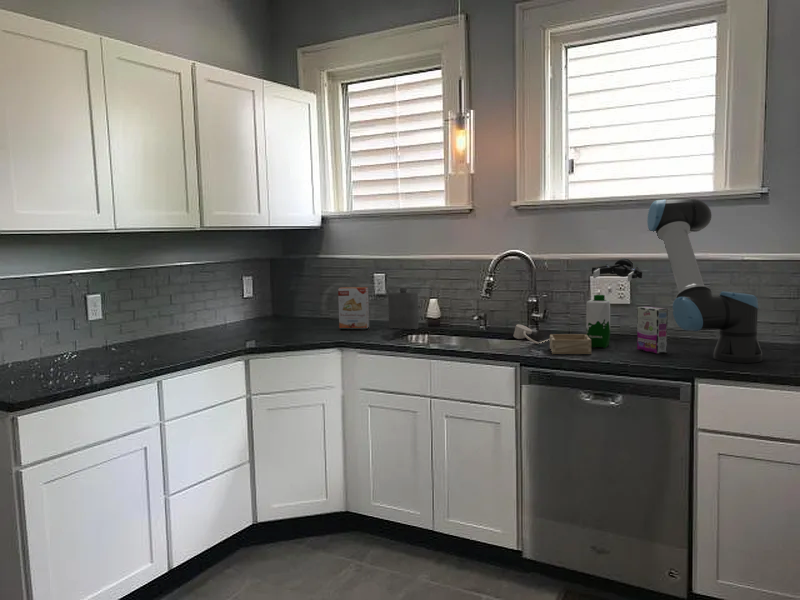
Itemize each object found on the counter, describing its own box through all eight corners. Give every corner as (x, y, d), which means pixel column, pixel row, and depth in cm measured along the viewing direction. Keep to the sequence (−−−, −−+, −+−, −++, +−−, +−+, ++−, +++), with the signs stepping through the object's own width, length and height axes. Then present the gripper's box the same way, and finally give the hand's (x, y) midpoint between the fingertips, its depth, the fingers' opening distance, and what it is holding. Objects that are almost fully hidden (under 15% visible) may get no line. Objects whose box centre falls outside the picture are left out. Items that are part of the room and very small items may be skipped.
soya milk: (611, 344, 269) (611, 294, 267) (607, 348, 261) (607, 297, 259) (589, 343, 273) (589, 294, 271) (584, 347, 265) (584, 296, 263)
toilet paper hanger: (539, 342, 276) (505, 327, 285) (536, 353, 277) (502, 338, 286) (559, 335, 292) (527, 321, 301) (556, 346, 294) (524, 331, 302)
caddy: (591, 354, 250) (591, 340, 249) (552, 354, 252) (552, 340, 251) (586, 348, 264) (586, 334, 263) (549, 348, 266) (549, 334, 265)
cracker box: (339, 330, 330) (337, 288, 328) (342, 328, 336) (340, 287, 334) (367, 330, 328) (365, 287, 326) (369, 328, 334) (368, 286, 332)
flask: (420, 327, 331) (419, 287, 329) (416, 329, 326) (415, 288, 323) (392, 327, 336) (390, 287, 334) (387, 329, 331) (386, 288, 329)
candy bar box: (668, 352, 249) (668, 308, 247) (657, 354, 247) (657, 309, 246) (646, 348, 259) (647, 305, 258) (636, 349, 258) (636, 306, 256)
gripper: (654, 278, 282) (642, 288, 264) (595, 272, 294) (580, 282, 277) (656, 260, 280) (644, 270, 262) (596, 255, 293) (580, 264, 275)
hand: (611, 276), depth 270 cm, fingers open, 13 cm apart
